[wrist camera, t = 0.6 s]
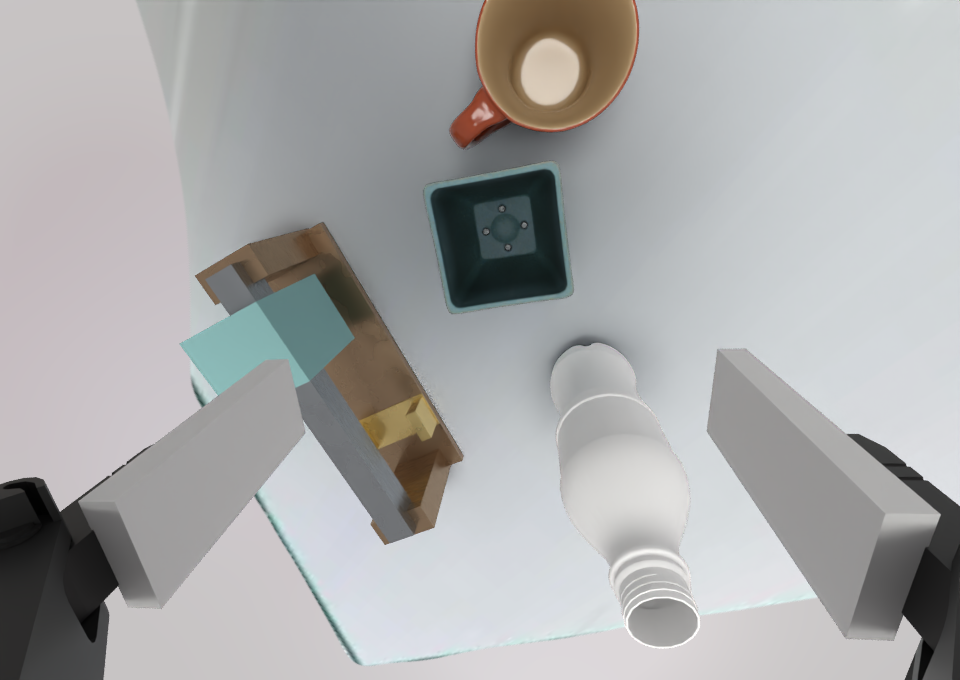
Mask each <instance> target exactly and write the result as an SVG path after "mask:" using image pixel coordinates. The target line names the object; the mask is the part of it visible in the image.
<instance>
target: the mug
mask: <svg viewBox="0 0 960 680" xmlns="http://www.w3.org/2000/svg"><path fill="white" fill-rule="evenodd" d="M638 41H639V19H638V12H637V6H636V3H635V0H485V1H484V3H483V5H482V8H481V11H480V14H479V18H478V23H477V28H476V36H475V59H476V68H477V72H478V75H479V78H480V81H481V83H482V85H483V86H482V87H481V88H480V89H479V91H478V92H477V93H476V95H475V97H474V99H473V101H472V102H471V103H470V105H469V106H468V107H467V108H466V109H465V110H464V111H463V112H462V113H461V114H460V115H459V116H458V117H457V118H456V119H455V120H454V121H453V123H452V124H451V126H450V129H449V133H450V136H451V138H452V139H453V141H454V142H455V143H456V145H457V146H458V147H459V148H461V149H463V150H466V149H470V148H472V147H474V146H475V145H477V144H479V143H480V142H481V141H483V140H484V139H485V138H487V137H488V136H490V135H491V134H492V133H494V132H496V131H498V130H500V129H502V128H504V127H506V126H508V125H510V124H511V123H514V124H516V125H519V126H521V127H524V128H527V129H531V130H535V131H540V132H560V131H566V130H570V129H573V128H576V127H579V126H581V125H583V124H585V123H587V122H589V121H591V120H592V119H594V118H595V117H597V116H598V115H599V114H601V113H602V112H603V111H604V110H605V109H606V108H607V107H608V106H609V105H610V104H611V103H612V102H613V101H614V99H615V98H616V97H617V96H618V94H619V93H620V91H621V90H622V88H623V87H624V85H625V83H626V81H627V79H628V77H629V75H630V73H631V70H632V67H633V65H634V62H635V58H636V54H637V48H638Z"/></svg>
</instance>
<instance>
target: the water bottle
mask: <svg viewBox="0 0 960 680" xmlns="http://www.w3.org/2000/svg"><path fill="white" fill-rule="evenodd" d="M550 390H551V396H552V399H553V402H554V404H555V406H556V408H557V410H558V412H559V414H560V416H561V417H560V419H559V422H558V426H557V430H556V443H557V448H558V453H559V463H560V472H561V480H560V491H561V497H562V501H563V504H564V508H565V510H566V512H567V515H568V517H569V519H570V520H571V522H572V524H573V525H574V527H575V528H576V529H577V531H578V532H579V533H580V534H581V536H582V537H583V538H584V539H585V540H586V541H587V542H588V543H589V544H590V545H591V546H592V547H593V548H594V549H595V550H596V551H597V552H598V553H599V554H600V555H601V556H602V557H603V558H604V559H605V560H606V561H607V562H608V564H609V566H610V569H609V582H610V585H611V588H612V590H613V591H614V593H615V596H616V597H617V599H618V601H619V603H620V606H621V610H622V616H623V619H624V624H625V627H626V629H627V630H628V632H629V633H630V635H631V636H632V638H633V639H635V640H636V641H638V642H639V643H641V644H643V645H646V646H650V647H653V648H673V647H676V646H679V645H683V644H685V643H686V642H687V641H689V640H691V639H692V638H693V637H694V636H695V635H696V633H697V631H698V630H699V628H700V616H699V614H698V608H697V605H696V603H695V601H694V598H693V595H692V593H691V581H690V580H691V579H690V571H689V568H688V565H687V564H686V562H685V560H684V559H683V558H682V557H681V556H680V555H679V546H680V543H681V540H682V537H683V534H684V531H685V528H686V524H687V519H688V515H689V510H690V487H689V482H688V478H687V475H686V472H685V470H684V467H683V465H682V463H681V461H680V460H679V458H678V457H677V455H676V454H675V453H674V452H673V450H672V448H671V446H670V444H669V442H668V441H667V439H666V437H665V435H664V433H663V431H662V429H661V427H660V424H659V421H658V419H657V417H656V416H655V414H654V413H653V411H652V410H651V409H650V408H649V407H648V406H647V405H646V404H645V403H644V402H643V401H642V400H641V398H640V396H639V394H638V392H637V390H636V376H635V373H634V371H633V369H632V367H631V365H630V363H629V362H628V361H627V359H626V358H625V357H624V356H623V355H622V354H621V353H619V352H618V351H617V350H616V349H614V348H612V347H610V346H608V345H605V344H602V343H592V344H591V345H590V346H582V345H577V346H573V347H571V348H569V349H568V350H567V351H565V352H564V353H563V354H562V355H561V356H560V357H559V358H558V360H557V361H556V363H555V365H554V368H553V371H552V375H551V380H550Z"/></svg>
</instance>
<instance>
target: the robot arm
mask: <svg viewBox="0 0 960 680" xmlns="http://www.w3.org/2000/svg"><path fill="white" fill-rule="evenodd" d="M707 432H708V434H709V435H710V437H711V438H712V440H713V441H714V443H715V444H716V446H717V447H718V449H719V450H720V452H721V453H722V455H723V456H724V458H725V459H726V461H727V462H728V464H729V465H730V467H731V468H732V470H733V471H734V473H735V474H736V476H737V477H738V479H739V480H740V482H741V483H742V485H743V486H744V488H745V489H746V491H747V492H748V494H749V495H750V497H751V498H752V500H753V501H754V502H755V504H756V505H757V507H758V508H759V510H760V511H761V513H762V514H763V516H764V517H765V519H766V520H767V522H768V523H769V525H770V526H771V528H772V529H773V531H774V532H775V534H776V535H777V537H778V538H779V540H780V541H781V543H782V544H783V546H784V547H785V549H786V550H787V552H788V553H789V555H790V556H791V558H792V559H793V561H794V562H795V564H796V565H797V567H798V568H799V570H800V571H801V573H802V574H803V576H804V577H805V579H806V580H807V582H808V583H809V585H810V586H811V588H812V589H813V591H814V592H815V593H816V595H817V596H818V598H819V599H820V601H821V602H822V604H823V605H824V606H825V608H826V610H827V611H828V613H829V614H830V616H831V617H832V619H833V620H834V622H835V623H836V625H837V626H838V628H839V629H840V631H841V632H842V634H843V635H844V637H845V638H846V639H865V640H888V641H894V639H895V636H896V633H897V631H898V628H899V625H900V622H901V620H902V617H903V615H904V616H905V617H906V619H907V620H908V621H909V622H910V623H911V625H912V626H913V627H914V628H915V629H916V631H917V632H918V633H919V634H920V635H921V637H922V638H921V641H920V643H919V646H918V648H917V650H916V653H915V655H914V658H913V661H912V663H911V666H910V668H909V670H908V673H907V675H906V678H905V680H960V506H959V505H958V504H956V503H955V502H954V501H952V500H951V499H950V498H949V497H947V496H946V495H945V494H944V493H942V492H941V491H940V490H939V489H937V488H936V487H935V486H934V485H932V484H931V483H930V482H929V481H925V480H923V477H922V476H921V475H920V474H918V473H917V472H916V471H915V470H913V469H912V468H911V467H907V466H906V463H905V462H903V461H902V460H901V459H900V458H898V457H897V456H896V455H894V454H893V453H892V452H891V451H889V450H888V449H887V448H886V447H884V446H882V445H880V444H878V443H876V442H874V441H872V440H870V439H868V438H865V437H863V436H861V435H859V434H846V433H844V432H843V431H842V430H841V429H840V428H838V427H837V426H836V425H835V424H834V423H833V422H831V421H830V420H829V419H828V418H827V417H826V416H824V415H823V414H822V413H821V412H820V411H818V410H817V409H816V408H815V407H814V406H813V405H811V404H810V403H809V402H808V401H807V400H805V399H804V398H803V397H802V396H801V395H800V394H798V393H797V392H796V391H795V390H794V389H793V388H791V387H790V386H789V385H788V384H787V383H785V382H784V381H783V380H782V379H781V378H780V377H778V376H777V375H776V374H775V373H774V372H773V371H771V370H770V369H769V368H768V367H767V366H765V365H764V364H763V363H762V362H761V361H760V360H758V359H757V358H756V357H755V356H754V355H752V354H751V353H750V352H749V351H748V350H747V349H717V356H716V364H715V372H714V379H713V387H712V395H711V402H710V410H709V418H708V425H707ZM305 433H306V432H305V428H304V424H303V419H302V415H301V411H300V407H299V402H298V398H297V394H296V390H295V385H294V381H293V377H292V373H291V369H290V364H289V360H288V359H276V360H265V361H264V362H262V363H261V364H260V365H258V366H257V367H256V368H254V369H253V370H252V371H250V372H249V373H248V374H246V375H245V376H244V377H242V378H241V379H240V380H238V381H237V382H236V383H234V384H233V385H232V386H230V387H229V388H228V389H226V390H225V391H224V392H222V393H221V394H220V395H219V396H217V397H216V398H215V399H213V400H212V401H211V402H209V403H208V404H207V405H205V406H204V407H203V408H201V409H200V410H199V411H197V412H196V413H195V414H193V415H192V416H191V417H189V418H188V419H187V420H185V421H184V422H183V423H181V424H180V425H179V426H178V427H176V428H175V429H173V430H172V431H171V432H169V433H168V434H167V435H166V436H164V437H163V438H162V439H160V440H159V441H158V442H156V443H155V444H153V445H151V446H149V447H147V448H145V449H144V450H142V451H141V452H140V453H138V454H137V455H136V456H134V457H133V458H132V459H130V460H129V461H127V464H126V465H122V466H121V467H120V468H118V469H117V470H115V471H114V472H113V473H112V476H107V477H106V478H105V479H104V480H102V481H101V482H99V483H98V484H97V485H95V486H94V487H93V488H92V489H90V490H89V491H87V492H86V493H85V494H83V495H82V496H81V497H79V498H78V499H77V500H75V501H74V502H73V503H71V504H70V505H69V506H67V507H66V508H65V509H63V510H62V511H61V512H60V511H59V509H58V508H57V506H56V504H55V501H54V500H53V498H52V495H51V493H50V491H49V489H48V488H47V485H46V484H45V481H44V480H43V479H40V478H37V477H34V478H22V479H18V480H14V481H9V482H6V483H3V484H0V680H103V677H104V667H105V655H106V645H107V634H108V624H109V612H108V609H107V606H106V604H105V602H104V600H105V599H106V598H107V597H108V595H110V593H112V592H113V591H114V590H115V588H117V586H118V587H119V589H120V591H121V593H122V595H123V598H124V600H125V602H126V604H127V606H128V607H135V608H157V609H162V607H163V606H164V605H165V604H166V603H167V601H168V600H169V599H170V598H171V596H172V595H173V594H174V593H175V591H176V590H177V589H178V588H179V586H180V585H181V584H182V583H183V582H184V581H185V579H186V578H187V577H188V576H189V574H190V573H191V572H192V571H193V570H194V568H195V567H196V566H197V564H198V563H199V562H200V561H201V560H202V558H203V557H204V556H205V555H206V553H208V551H209V550H210V549H211V547H212V546H213V545H214V544H215V542H217V540H218V539H219V538H220V537H221V535H222V534H223V533H224V532H225V531H226V529H227V528H228V527H229V526H230V524H231V523H232V522H233V521H234V520H235V518H236V517H237V516H238V515H239V513H240V512H241V511H242V510H243V508H244V507H245V506H246V505H247V504H248V503H249V501H250V500H251V499H252V498H253V496H254V495H255V494H256V493H257V492H258V490H259V489H260V488H261V487H262V485H263V484H264V483H265V482H266V481H267V479H268V478H269V477H270V476H271V474H272V473H273V472H274V471H275V470H276V468H277V467H278V466H279V465H280V463H281V462H282V461H283V460H284V459H285V457H286V456H287V455H288V454H289V453H290V451H291V450H292V449H293V448H294V446H295V445H296V444H297V443H298V442H299V440H300V439H301V438H302V437H303V435H304V434H305Z"/></svg>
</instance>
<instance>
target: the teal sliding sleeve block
mask: <svg viewBox="0 0 960 680" xmlns="http://www.w3.org/2000/svg"><path fill="white" fill-rule="evenodd" d="M354 338H355V337H354V336H353V334H352V333H351V331H350V329H349V328H348V326H347V325H346V323H345V321H344V320H343V318H342V317H341V315H340V313H339V312H338V310H337V309H336V307H335V305H334V304H333V302H332V301H331V299H330V297H329V296H328V294H327V293H326V291H325V289H324V288H323V286H322V285H321V283H320V281H319V280H318V278H317V277H316V275H315V274H313V275H311V276H308V277H306V278H304V279H302V280H300V281H298V282H296V283H294V284H292V285H290V286H288V287H286V288H283V289H281V290H279V291H277V292H275V293H273V294H271V295H269V296H267V297H265V298H263V299H260V300H258V301H256V302H254V303H253V304H251V305H249V306H247V307H245V308H244V309H242V310H240V311H238V312H236V313H234V314H233V315H231V316H229V317H227V318H225V319H224V320H222V321H220V322H218V323H216V324H215V325H213V326H211V327H209V328H207V329H206V330H204V331H202V332H200V333H198V334H196V335H195V336H193V337H191V338H189V339H187V340H186V341H184V342H182V343H180V345H181V347H182V348H183V349H184V351H185V352H186V353H187V355H188V356H189V357H190V359H191V360H192V361H193V363H194V364H195V365H196V367H197V368H198V369H199V371H200V372H201V373H202V375H203V376H204V377H205V379H206V380H207V381H208V383H209V384H210V385H211V387H212V388H213V389H214V391H215V392H216V393H217V395H218V396H219V395H220V394H221V393H222V392H224V391H225V390H226V389H228V388H229V387H230V386H232V385H233V384H234V383H236V382H237V381H238V380H240V379H241V378H242V377H244V376H245V375H246V374H248V373H249V372H250V371H252V370H253V369H254V368H256V367H257V366H258V365H260V364H261V363H262V362H264V361H265V360H276V359H288V360H289V364H290V369H291V373H292V377H293V381H294V385H295V388H296V387H298V386H301V385H303V384H305V383H307V382H309V381H310V380H311V379H312V378H313V377H314V376H316V375H317V374H318V373H319V372H320V371H321V370H322V369H323V368H324V367H325V366H326V365H327V364H328V363H329V362H330V361H331V360H332V359H333V358H334V357H335V356H336V355H337V354H338V353H340V352H341V351H342V350H343V349H344V348H345V347H346V346H347V345H348V344H349V343H350V342H351V341H352V340H353V339H354Z"/></svg>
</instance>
